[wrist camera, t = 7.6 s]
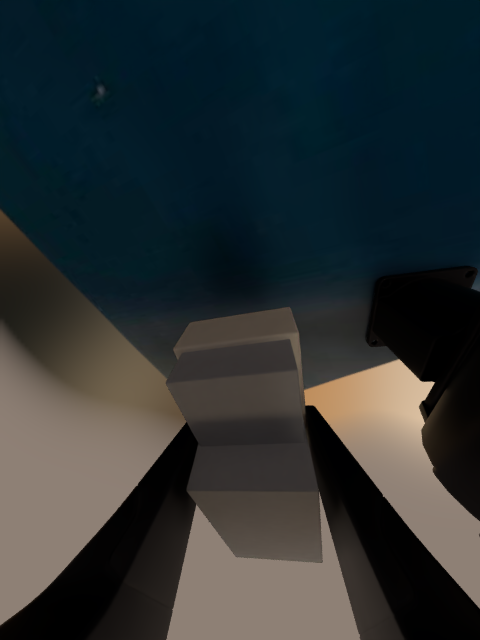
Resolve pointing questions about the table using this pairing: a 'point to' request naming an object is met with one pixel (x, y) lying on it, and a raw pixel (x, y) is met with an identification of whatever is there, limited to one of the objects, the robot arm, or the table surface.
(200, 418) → the grey stepped blocks
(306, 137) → the table surface
